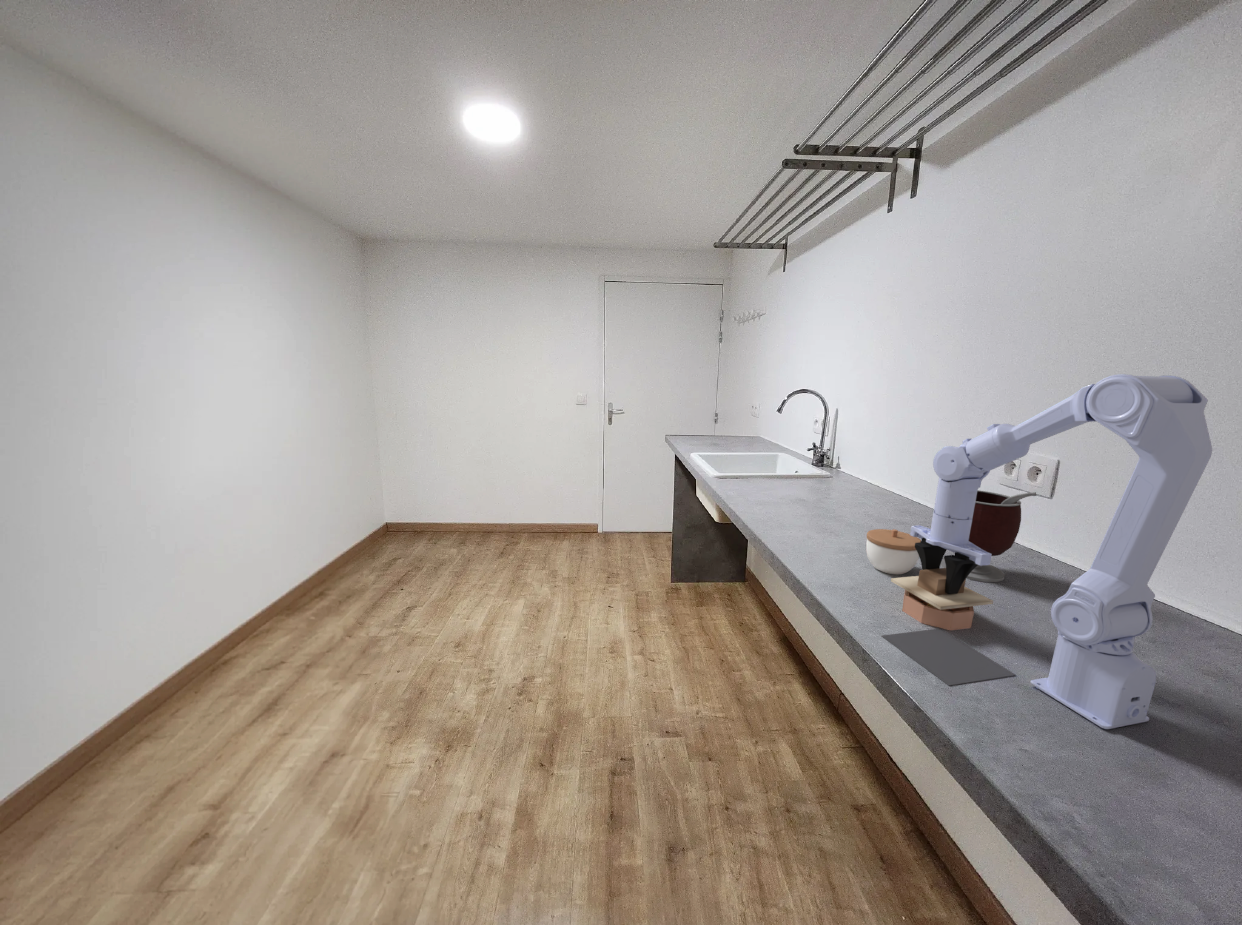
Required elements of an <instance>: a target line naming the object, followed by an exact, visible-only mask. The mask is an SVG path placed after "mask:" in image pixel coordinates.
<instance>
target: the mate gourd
mask: <svg viewBox="0 0 1242 925" xmlns="http://www.w3.org/2000/svg"><path fill="white" fill-rule="evenodd" d="M1029 497H1037V492H1035V491H1032V492H1024V493H1019V494H1015V495H1011V496H1009V495H1006V494H1003V493H997V492H994V491H993V492H992V491H988V490H987V491H986V490H981V489H980V490H979V489H978V490H977V496H976V501H975V507H974V512H973V518H972V524H971V529H970V535H969V542H971V543H973V544H974V545H976V546H978V547H979V548H981V549H982V550H984V551H986V552H988V553H991V554H992V556H991V557H995V556H1000V555H1003V554H1004V553H1005V552H1006V551H1008V550H1010V549H1011V548H1012V547H1013V545H1014V543H1015V542H1016V539H1017V537H1018V534H1019V532H1020V528H1021V523H1022V505H1021V504H1022V501H1020V500H1022V499H1024V498H1025V499H1026V498H1029ZM940 568H946V564H945V560H944V556H943V559H942V561H941V564H940ZM1005 576H1006V574H1005V573H1004V571H1003V570H1001V569H1000V568H999V567H996V566H994V565H992V564H990V565H982V566H980V565H978V566H976V567H975V568H974V569H973V570H972V571H971V572H970V574H969V575H968V576H967V578H966V580H971V581H976V582H983V583H999V582H1003V581H1005V580H1004V579H1005Z"/></svg>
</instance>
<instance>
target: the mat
mask: <svg viewBox="0 0 1242 925" xmlns="http://www.w3.org/2000/svg"><path fill="white" fill-rule="evenodd" d="M881 637H882V638H883V639H885V640H886V641H887V642H888V643H890V644H891V645H893V646H894V647H895V648H896V649H898V650H899V651H900V652H902V653H903V654H905V656H907V657H908V658H910V659H911V660H913V661H914V662H916V663H917V664H918V665H919V666H921V667H922V668H924V669H925V670H927V672H929V673H930V674H932V675H933V676H934V677H935V678H937V679H938V680H940V682H942V683H944V684H945V685H947V686H948V687H952V686H958V685H965V684H971V683H978V682H984V681H990V680H998V679H1004V678H1011V677H1016V676H1017V674H1016V673H1013V672H1012V671H1010V670H1009V669H1007V668H1006V667H1004V666H1002V664H999V663H997V662H996V661H994V660H993V659H991V658H989V657H988V656H986V655H984V654H983V653H981V652H980V651H978V650H976V649H975V648H973V647H971V646H970V645H969V644H967V643H965V642H964V641H962V640H961V639H958V638H957V637H956V636H954V635H952V634H951V633H949V632H948V631H946V630H945V629H943V628H939V627H938V628H931V629H926V630H916V631H909V632H901V633H890V634H884V635H881Z"/></svg>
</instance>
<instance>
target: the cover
mask: <svg viewBox="0 0 1242 925" xmlns="http://www.w3.org/2000/svg"><path fill="white" fill-rule="evenodd" d="M966 581H967V578H966V579H965V581H964V582H963V584H962V586H961V588H960V590H959V592H958V594H947V593H945V583H946V568H943V567H940V568H938V569H927V570H922V569H920V570H919V573H918V575H915V576H912V575H911V576H902V577H901V576H900V577H891V578H890V582H891V583H893V584H895V585H897V586H898V587H900V588H902V589H903V590H904V591H905V590H907V591H908V592H910V593H912V594H914V595H915V596H917V597H919V598H921V599H922V600H924V601H926V602H928V603H929V604H931V605H933V606H935V607H936V608H938V609H940V610H943V609H952V608H961V607H970V606H973V607H976V606H977V607H979V606H987V605H993V604H994V600H993V599H991V598H989V597H987V596H985V595H983V594H981V593H978V592H976V591H974V590H972V589H970V588H968V587H967V586H966ZM924 601H923V602H924Z"/></svg>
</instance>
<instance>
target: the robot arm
mask: <svg viewBox="0 0 1242 925" xmlns="http://www.w3.org/2000/svg"><path fill="white" fill-rule="evenodd" d="M1208 402H1209V400H1208V398H1207V397H1206V396H1205V395H1204V394H1203V393H1202V392H1201V391H1200V390H1199V389H1198V388H1197V387H1195V385H1193V383H1191V382H1190V381H1189V380H1187V379H1185V378H1183V377H1181V376H1177V375H1169V374H1168V375H1159V376H1158V375H1157V376H1155V375H1154V376H1153V375H1133V374H1126V373H1122V374H1121V373H1118V374H1112V375H1109V376H1107V377H1104V378H1102V379H1100V380H1099V381H1097V382H1096V383H1091V384H1088V385H1086V386H1082V387H1080V389H1079V390H1077V391H1076V392H1075V393H1073V394H1072V395H1069V396H1068V397H1065V399H1062V400H1060V401H1059V402H1057V403H1055V404H1054V405H1051V406H1050V407H1047V408H1046V409H1045V410H1042V411H1041V412H1039V413H1037V414H1036V415H1033V416H1032V417H1030V418H1028V419H1026V420H1025V421H1022V422H1020V423H1018V424H1016V425H1014V424H1011V423H992V424H991V425H989V426H987V427H986V429H987V431H985V432H983V433H981V434H979V435H977V436H975V437H973V438H972V437H971V438H965V439H963V440H962V444H960V445H959V446H953V445H946V446H943V447H942V448H941V449H939V450H938V451H937V452H936V453H935V455H934V458H933V460H932V467H933V470H934V472H935V474H936V475H937V477H938V482H937V487H936V494H935V499H934V500H935V502H934V505H933V512H932V519H931V524H930V526H931V527H930V528H929V527H926V526H923V525H921V524H918V525H910V526H911V527H910V533H909V534H910V535H911V536H913V537H917V538H919V539H920V540H921V541H920V542H919V543H915V548H916V550H917V552H918V555H919V562H920V563H921V568H922V569H921V570H927V569H938V568H941V566H940V564H941V561H942V559H943V557H944V560H945V564H946V583H945V593H947V594H958V592H959V590H960V588H961V586H962V584H963V582H964V581H965V579H966V580H967V576H968V575H969V574H970V572H971V571H972V570H973V569H974V568H975V567H976V566H978V565H980V566H982V565H991V560H992V557H993V556H992V554H991V553H988V552H986V551H984V550H982V549H981V548H979V547H978V546H976V545H974V544H973V543H971V542H969V535H970V529H971V524H972V518H973V512H974V507H975V501H976V496H977V490H979V488H981V484H982V481H983V480H984V479H985V478H986V477H987V476H988V475H989V474H990V472H991V471H992V470H994V469H997V468H999V467H1002V466H1005V465H1007V464H1009V463H1011V462H1014V461H1016V460H1019V459H1021V458H1023V457H1025V456H1026V455H1028V453H1029V450H1030V446H1031V445H1032V444H1036V443H1037V442H1040V441H1043V440H1045V439H1048V438H1050V437H1053V436H1055V435H1058V434H1061V433H1064V432H1066V431H1068V430H1071V429H1074V428H1076V427H1077V428H1078V427H1079V426H1081V425H1084V424H1087V423H1092V422H1093V423H1094V422H1097V423H1098V424H1100V425H1101V426H1103V427H1104V428H1105V429H1107V430H1109V431H1111V432H1112V433H1114V434H1115V435H1117V436H1119V437H1120V438H1122V439H1123V440H1124V441H1126V443H1127V444H1128V446H1129V447H1130V448H1131V449H1133V451H1134V452H1135V453H1136V455H1137V456H1138V460H1137V462H1136V464H1135V468H1134V469H1133V472H1132V474H1131V476H1130V479H1129V481H1128V483H1127V484H1126V487H1125V490H1124V492H1123V494H1122V496H1121V499H1120V501H1119V503H1118V505H1117V507H1116V509H1115V512H1114V515H1113V517H1112V518H1111V520H1110V523H1109V526H1108V527H1107V529H1106V531H1105V534H1104V536H1103V539H1102V540H1101V543H1100V545H1099V548H1098V550H1097V553H1096V554H1095V556H1094V559H1093V561H1092V564H1091V566H1090V568H1088V570H1087V571H1085V572H1084V573H1083V574H1081V575H1079V577H1078V578H1076V579H1075V580H1074V581H1072V582H1071V584H1070V586H1069V588H1068V590H1067V591H1066V592H1065V593H1064V594H1063V595H1061V596H1060V597H1058V598H1057V599H1055V600H1054V602H1053V603H1052V606H1051V609H1050V615H1051V620H1052V623H1053V625H1054V626H1055V628H1056V629H1057V638H1056V643H1055V647H1054V651H1053V656H1052V660H1051V665H1050V669H1049V674H1048V677H1042V678H1035V679H1031V680H1030V684H1031V685H1034V686H1035V688H1036V689H1038V690H1040V691H1042V692H1043V693H1045V694H1046V695H1048V696H1050V697H1051V698H1053V699H1055V700H1056V701H1058V702H1059V703H1061V704H1063V705H1064V706H1065V707H1067V708H1070V709H1071V710H1072V711H1074V712H1076V713H1077V714H1078V715H1081V716H1082V717H1084V718H1085V719H1087V720H1089V721H1090V722H1092V723H1093V724H1094V725H1096V726H1098V727H1100V728H1102V729H1104V730H1110V729H1111V730H1112V729H1116V728H1119V727H1125V726H1130V725H1136V724H1141V723H1146V722H1149V720H1150V717H1149V716H1148V711H1149V708H1150V703H1151V701H1152V697H1153V694H1154V689H1155V688H1156V687H1155V686H1156V682H1157V673H1156V669H1155V668H1154V667H1153V666H1151V665H1150V664H1148V663H1146V662H1145V661H1143V660H1142V659H1140V658H1139V657H1138V656H1137V655H1136V654H1135V653H1134V652H1133V651H1134V644H1135V640H1136V637H1140V636H1142V635H1144V634H1146V633H1148V631H1150V629H1151V628H1152V625H1153V618H1154V617H1153V613H1152V604H1153V601H1154V599H1155V598H1156V594H1155V592H1154V591H1153V590H1152V589H1151V588H1150V587H1149V585H1148V584H1149V582H1150V580H1151V578H1152V575H1153V573H1154V572H1155V570H1156V568H1157V565H1158V563H1159V562H1160V560H1161V558H1162V555H1163V554H1164V552H1165V550H1166V548H1167V545H1168V544H1169V542H1170V539H1171V537H1172V536H1173V533H1174V531H1175V530H1176V528H1177V526H1178V524H1179V521H1180V520H1181V517H1182V515H1183V514H1184V511H1185V509H1186V508H1187V506H1188V504H1189V501H1190V500H1191V498H1192V496H1193V493H1194V491H1195V490H1196V488H1197V485H1198V483H1199V482H1200V479H1201V478H1202V475H1203V474H1204V471H1205V470H1206V468H1207V465H1208V463H1209V461H1210V460H1211V457H1212V454H1213V445H1212V442H1211V437H1210V432H1209V428H1208V425H1207V421H1206V420H1207V419H1206V416H1205V409H1206V406H1207V405H1208ZM947 551H949V552H951V553H953V554H949V555H945V554H946V552H947Z"/></svg>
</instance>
